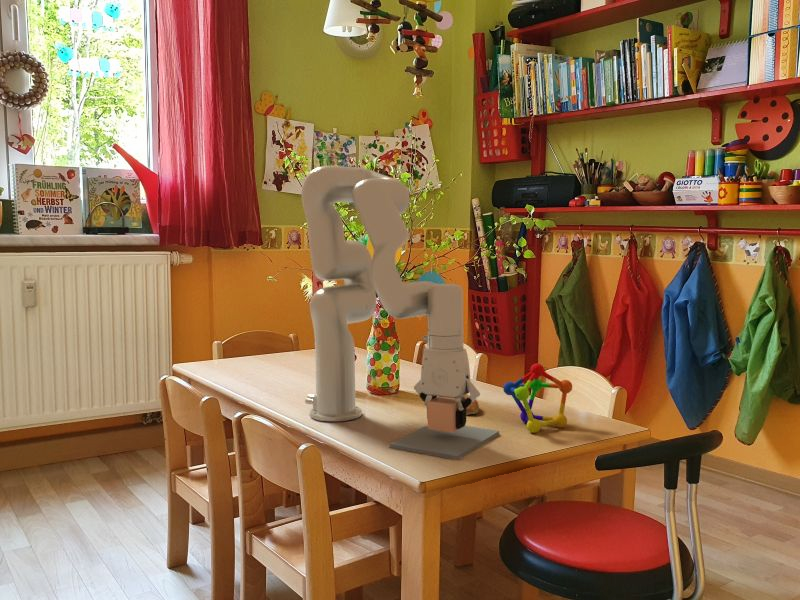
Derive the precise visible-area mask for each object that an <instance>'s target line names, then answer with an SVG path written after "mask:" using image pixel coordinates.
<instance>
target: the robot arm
mask: <svg viewBox="0 0 800 600" xmlns="http://www.w3.org/2000/svg"><path fill="white" fill-rule="evenodd" d="M300 196H301V203H302V208H303V212H304V215H305V220H306V225H307V233H308V234H307V235H308V243H309V253H310V262H311V267H312V272H313V274H314V276H315V277H316V278H317V279H318V280H321V281H327V282H328V281H341V280H343V282H344V283H343V285H333V286H327V287H323V288H320V289H318V290H317V291H316V292H315V293H314V294H313V295H312V296H311V298H310V302H309V314H310V318H311V323H312V328H313V335H314V350H315V351H314V355H315V356H314V358H315V394H311V393H310V394H307V397H306V398H305V400H304V402H305V404H306V405H312V409H311V410H310V413H309V414H310V418H312V419H314V420H316V421H321V422H347V421H351V420H355V419H358V418H360V417H362V414H363V409H362V408H361V407H360V406H357V405H356V366H355V365H356V361H355V359H356V358H355V352H356V350H355V341H354V337H353V335H352V333H351V331H350V329H349V326H348V325H350V324H355V323H362V322H364V321H367V320H369V319H371V318H372V317H373V315H374V314H375V312H376V307H377V297H378V300H379V302H380V305H381V306H382V307H383V309H384V310H385V312H386V313H387V314H388V316H391V317H392V318H394V319H398V320H403V319H410V318H415V317H423V316H427V335H425V334H424V335H423V336H422V341H423V342H426V343H427V347H425V348H424V350H423V354H422V359H421V369H420V379H419V381H418V382H417V383H416V384H415V385H414V386H413V389H414V391H415V392H416V393H417V394H418V395H419V397H420V399H421V400H422V401H423V403H424V406H426V407H427V401H430V400H432V399H434V398H436V397H439V396H440V397H448V398H454V399H455V402H456V405H457V407H458V410H456V429H460V428H462V427H464V426H466V423H467V415H466V408H468V406H469V405H470V404H471V403H472V402H473V401H474V400H475V399H476V400H477V398H479V397H480V395H481V393H480V391H479V390H478V389H477V388H476V386H475V385H474V384H473V382H472V381H471V370H470V362H469V357H468V351H467V349H466V348H464V290H463V288H462V286H461V285H458V284H456V283H436V282H433V281H426V280H423V281H421V280H420V281H411V282H403V280H402V278H401V276H400V274H399V271H398V268H397V264H396V256H397V255H396V254H397V251H398V250H399V249H401V248H402V247H403V246H404V245H405V244H406V243H407V242H408V241H409V238H410V234H409V231H408V228H407V227H406V225H405V222H404V221H403V219H402V216H401V215H402V214H404V213H405V212H406V211H407V210H408V208H409V205H410V201H411V200H410V198H411V197H410V194H409V191H408V189H407V187H406V185H405V184H404V183H403V182H402V181H400V180H398V179H396V178H393V177H390V176H388V175H385V174H382V173H379V172H376V171H374V170H371V169H368V168H364V167H354V166H353V167H352V166H344V165H343V166H342V165H323V166H319V167H316V168H314V169H312V170H311V171H310V172H308V173H307V175H306V177H305V178H304V181H303V183H302V187H301V195H300ZM335 203H347V204H349V203H351V204H354V207H355V210H356V212H357V215H358V217H359V219H360V221H361V223H362V225H363V227H364V230H365V232H366V235H367V237H368V238H369V242H370V243H371V245H372V248H373V255H371V252H370V250H369V249H368V248H367V246H366V245H365V244H364V243H363V242H360V241H357V240H352V239H350V240H349V239H348V240H346V238H345V233H344V223H343V220H342V217H341V214H340V213H339V211H338V210H337V209H336V207H335V206H334V204H335ZM465 394H467V395H469V397H468V398H467V399H466V396H465ZM426 419H427V420H428V417H427V416H426Z"/></svg>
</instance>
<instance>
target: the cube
mask: <svg viewBox="0 0 800 600" xmlns="http://www.w3.org/2000/svg"><path fill="white" fill-rule="evenodd" d="M456 410H458V407H457V405H456V402H455V399H454V398H448V397H440V396H437V397H436V398H434V399H432V400H430V401H427V406H426V418H427V417H428V419H427V425H428V429H431V430H437V431H444V432H451V433H453V432H455V431H457V430H459V429H456ZM460 429H461V428H460Z"/></svg>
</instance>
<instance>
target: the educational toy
mask: <svg viewBox="0 0 800 600" xmlns="http://www.w3.org/2000/svg"><path fill="white" fill-rule="evenodd" d="M529 370H530V371H529V372H528V373H527V374H525V375H524V376H522V377H520V379H518V380H517V381H515V382H513V381H507V382H506V383H504V384H503V388H502V389H503V392H504V393H505V395H507V396H511V397H512V399H513V400H514V401H515V403H516V405H517V406H518V408H519V410H520V411H521V412H520V419H521V421H522V422H523V423H525V424H526V429H527V430H528V432H529V433H531V434H536V433H538V432H539V431H540V430H541V428H542V427H546V426H552V425H554V426H555V427H557V428H561V429H562V428H564V427H566V425H567V424H568V418H567V416H566V415H565V414H564V413H565V406H566V401H567V394H569V393H570V392H572V390H573V383H572V382H571V381H570V380H568V379H563V380H560V379H558V378H556V377H554V376H553V375H550V374H549V373H547V372H545V368H544V366H543V365H542V364H540V363H534V364H532V365H531V366H530V369H529ZM540 377H544V378H545V379H547V380H549V381H551V383H550V382H542V379H540ZM525 382H526V383H525ZM543 388H548V389H549V388H551V389H558V390H559V391H560V392H561V393H562V394H561V397H560V406H559V411H558V412H559V413H557V414H556V415H554V416H553V417H552V416H543V415H536V414H534V413H533V411H532V409H533V404H534V401H535V398H536V393H537V392H538V391H541V390H542V389H543ZM529 389H531V392H530V391H529ZM528 399H529V400H528Z"/></svg>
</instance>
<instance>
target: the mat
mask: <svg viewBox="0 0 800 600" xmlns="http://www.w3.org/2000/svg"><path fill="white" fill-rule="evenodd" d="M499 435H500V430H495V429H489V428H484V427H483V428H482V427H476V426H471V425H469V426H468V425H465V426H464V427H462V428H461V429H459V430H457V431H455V432H453V433H451V432H444V431H437V430H431V429H428V424H427V425H425V426H423V427H420V428H419V429H417V430H415V431H412V432H411V433H409V434H407V435H404V436H403V437H401V438H399V439H397V440H395V441H393V442H390V443H389V448H390V449H395V450H401V451H406V452H410V453H411V452H413V453H417V454H423V455H429V456H433V457H438V458H439V457H440V458H445V459H450V460H456V461H459V460H461V459H462V458H464V457H465V456H467V455H469V454H470V453H471V452H473V451H475V450H477V449H478V448H480V447H481V446H483V445H484V444H486V443H487V442H489V441H491V440H493V439H494V438H496V437H497V436H499Z"/></svg>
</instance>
